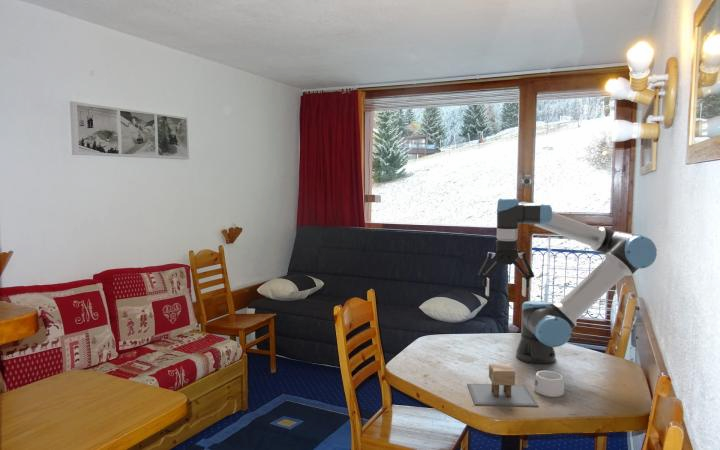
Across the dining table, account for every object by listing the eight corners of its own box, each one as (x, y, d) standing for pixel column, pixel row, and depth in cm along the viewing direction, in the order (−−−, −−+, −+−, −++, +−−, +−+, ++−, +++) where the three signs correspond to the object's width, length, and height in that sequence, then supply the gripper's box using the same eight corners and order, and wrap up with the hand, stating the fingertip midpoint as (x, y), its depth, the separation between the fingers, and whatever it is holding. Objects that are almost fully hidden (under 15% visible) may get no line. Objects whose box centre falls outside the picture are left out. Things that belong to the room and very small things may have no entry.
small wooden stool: (488, 389, 171) (489, 363, 170) (509, 389, 170) (509, 363, 169) (492, 398, 164) (493, 371, 163) (514, 398, 163) (515, 371, 163)
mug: (568, 398, 165) (568, 381, 164) (538, 397, 165) (538, 380, 165) (557, 384, 177) (557, 367, 176) (529, 383, 177) (529, 366, 177)
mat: (524, 386, 174) (524, 384, 174) (538, 406, 158) (538, 405, 158) (467, 384, 176) (467, 383, 176) (475, 405, 160) (475, 403, 160)
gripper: (538, 238, 188) (536, 293, 190) (471, 238, 190) (470, 292, 191) (544, 241, 181) (542, 298, 183) (474, 240, 182) (473, 297, 184)
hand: (505, 295), depth 187 cm, fingers open, 13 cm apart
